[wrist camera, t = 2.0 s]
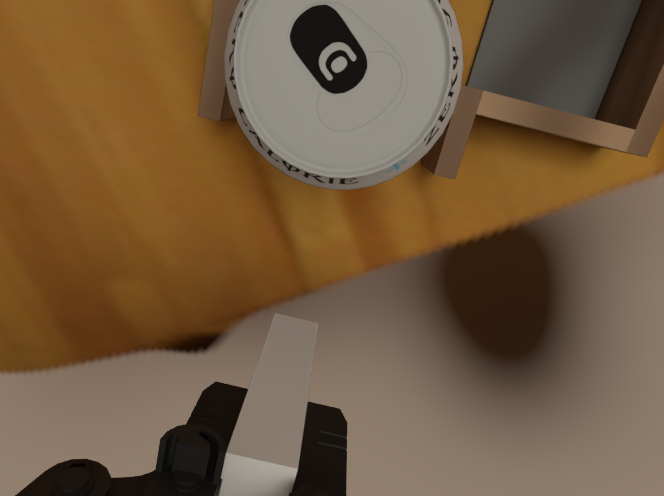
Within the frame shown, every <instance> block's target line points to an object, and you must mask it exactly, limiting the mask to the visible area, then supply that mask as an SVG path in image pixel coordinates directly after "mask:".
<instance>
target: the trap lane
mask: <svg viewBox="0 0 664 496" xmlns="http://www.w3.org/2000/svg"><path fill="white" fill-rule="evenodd" d="M239 1H240V0H215V3H214V10H213V16H212V23H211V30H210V37H209V43H208V50H207V57H206V63H205V70H204V77H203V84H202V90H201V97H200V104H199V111H198V116H201V117H205V118H209V119H213V120H217V121H223V120H227V119H231V118H235V117H236V116H235V114H234V112H233V109H232V107H231V105H230V100H229V96H228V91H227V87H226V82H225V62H224V54H225V47H226V41H227V34H228V29H229V26H230V24H231V21H232V18H233V15H234V12H235V9H236V7H237V5H238V3H239ZM475 116H480V117H484V118H488V119H492V120H496V121H500V122H504V123H508V124H512V125H516V126H520V127H523V128H527V129H531V130H535V131H539V132H543V133H547V134H551V135H555V136H559V137H563V138H567V139H570V140H574V141H578V142H582V143H586V144H590V145H594V146H598V147H602V148H606V149H611V150H615V151H620V152H624V153H629V154H633V155H638V156H643V157H647V156H648V154H649V152H650V149H651V147H652V145H653V143H654V140H655V138H656V136H657V134H658V131H659V129H660V127H661V125H662V122H663V120H664V0H493V1H492V4H491V7H490V10H489V14H488V17H487V20H486V23H485V27H484V30H483V33H482V36H481V39H480V43H479V46H478V49H477V52H476V55H475V59H474V62H473V65H472V68H471V71H470V75H469V78H468V81H467V84H466V86H464V85H461V90H460V93H459V96H458V99H457V103H456V106H455V109H454V112H453V114H452V116H451V118H450V120H449V122H448V124H447V126H446V128H445V130H444V132H443V134H442V135H441V136H440V138H439V139H438V140H437V141H436V143H435V144H434V145H433V147H432V148H431V149H430V150H429V152H428V153H427V154H426V155H424V156H423V157H422V160H421V163H422V164H423V165H425V166H426V167H427V168H428V169H429V170H430V171H431V172H432V173H433V174H434V175H438V176H442V177H446V178H450V179H454V180H455V178H456V175H457V171H458V168H459V165H460V162H461V159H462V156H463V153H464V150H465V147H466V144H467V141H468V138H469V134H470V131H471V128H472V125H473V122H474V119H475Z"/></svg>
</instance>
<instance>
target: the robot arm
mask: <svg viewBox="0 0 664 496" xmlns="http://www.w3.org/2000/svg"><path fill="white" fill-rule="evenodd" d="M318 326H319V323H316V322H311V321H307V320H303V319H299V318H294V317H290V316H286V315H282V314H278V313H275V315H274V318H273V321H272V323H271V326H270V329H269V332H268V335H267V338H266V340H265V343H264V346H263V349H262V352H261V355H260V358H259V360H258V363H257V366H256V369H255V372H254V375H253V377H252V380H251V383H250V386H249V389H246V388H241V387H237V386H232V385H228V384H224V383H220V382H215V383H213V384H212V385H210V386H209V387H208V388H206V389H205V390H204V391H203V392H202V394H201V396H200V398H199V400H198V402H197V404H196V406H195V408H194V410H193V412H192V414H191V417H190V418H189V420H188V422H187V424H186V425H181V426H177V427H175V428H173V429H171V430H169V431H167V432H166V433H165V435H164V436H163V437H162V438H161V439H160V445H159V452H158V458H157V464H156V470H154V471H153V472H151V473H148V474H144V475H141V476H135V477H124V478H123V477H122V478H111V476H110V474H109V472H108V470H107V468H106V467H104V466H103V465H102V464H100V463H98V462H96V461H92V460H88V459H72V460H68V461H65V462H62V463H59V464H57V465H55V466H53V467H51V468H50V469H48V470H47V471H45V472H44V473H43V474H41V475H40V476H39V477H37V478H36V479H35V480H34V481H33V482H31V483H30V484H29V485H28V486H26V487H25V488H24V489H23V490H22V491H20V492H19V493H18V494H17V495H15V496H346V465H347V451H346V449H347V439H346V438H347V421H346V420H345V418H344V416H343V414H342V412H341V410H340V409H338V408H334V407H329V406H325V405H321V404H316V403H312V402H308V396H309V389H310V382H311V375H312V367H313V361H314V354H315V347H316V340H317V333H318Z"/></svg>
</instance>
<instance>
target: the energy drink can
mask: <svg viewBox="0 0 664 496" xmlns="http://www.w3.org/2000/svg"><path fill="white" fill-rule="evenodd" d="M224 62H225V82H226V87H227V91H228V96H229V100H230V105H231V107H232V109H233V112H234V114H235V116H236V119H237V121H238V124H239V126H240V128H241V129H242V131H243V132H244V134H245V135H246V137H247V138H248V140H249V141H250V143H251V144H252V146H253V147H254V148H255V149H256V150H257V151H258V152H259V153H260V154H261V155H262V156H263V157H264V158H265V159H266V160H267V161H268V162H269V163H270V164H272V165H273V166H274V167H276V168H277V169H279V170H280V171H282V172H283V173H284V174H286V175H288V176H290V177H292V178H294V179H296V180H299V181H301V182H303V183H305V184H309V185H313V186H317V187H321V188H325V189H340V190H352V189H358V188H364V187H371V186H374V185H376V184H379V183H382V182H385V181H387V180H390V179H392V178H394V177H396V176H397V175H399V174H401V173H402V172H404V171H406V170H408V169H409V168H411V167H412V166H413V165H414V164H415V163H417V162H418V161H419V160H420V159H421V158H422V157H423V156H424V155H426V154H427V153H428V152H429V150H430V149H431V148H432V147H433V145H434V144H435V143H436V141H437V140H438V139H439V138H440V136H441V135H442V134H443V132H444V130H445V128H446V126H447V124H448V122H449V120H450V118H451V116H452V114H453V112H454V109H455V106H456V103H457V99H458V96H459V93H460V90H461V82H462V73H463V50H462V38H461V34H460V31H459V27H458V23H457V20H456V16H455V13H454V11H453V9H452V7H451V5H450V3H449V1H448V0H240V1H239V3H238V5H237V7H236V9H235V12H234V15H233V18H232V21H231V24H230V26H229V29H228V34H227V41H226V47H225V54H224Z"/></svg>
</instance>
